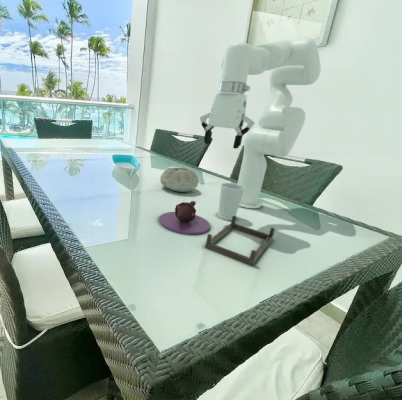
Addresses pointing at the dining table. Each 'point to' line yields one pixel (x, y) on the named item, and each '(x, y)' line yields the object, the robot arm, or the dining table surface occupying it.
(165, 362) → the dining table surface
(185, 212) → the dark red rounded piece
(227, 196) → the cup
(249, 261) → the frame
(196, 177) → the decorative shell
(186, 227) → the lid
